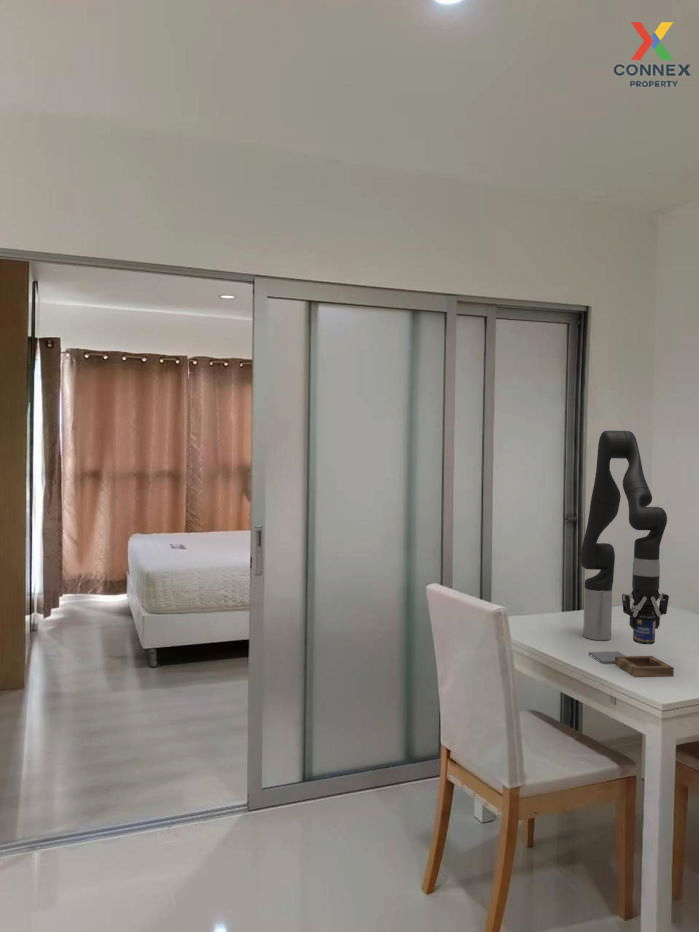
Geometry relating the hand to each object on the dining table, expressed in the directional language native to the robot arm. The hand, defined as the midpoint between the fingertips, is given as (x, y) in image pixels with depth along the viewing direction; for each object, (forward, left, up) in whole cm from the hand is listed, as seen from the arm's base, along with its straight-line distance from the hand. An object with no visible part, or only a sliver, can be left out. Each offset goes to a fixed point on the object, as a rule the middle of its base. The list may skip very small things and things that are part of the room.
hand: (644, 628), depth 216 cm
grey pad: (-12, -5, -13) cm, 18 cm away
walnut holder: (0, 0, -13) cm, 13 cm away
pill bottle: (0, 0, -4) cm, 4 cm away
